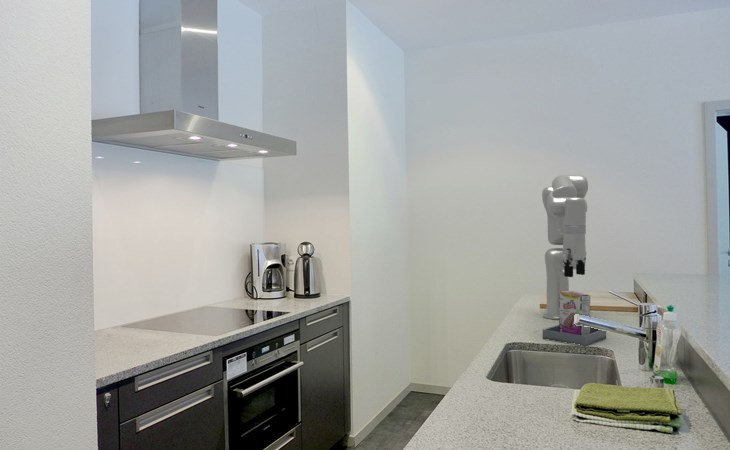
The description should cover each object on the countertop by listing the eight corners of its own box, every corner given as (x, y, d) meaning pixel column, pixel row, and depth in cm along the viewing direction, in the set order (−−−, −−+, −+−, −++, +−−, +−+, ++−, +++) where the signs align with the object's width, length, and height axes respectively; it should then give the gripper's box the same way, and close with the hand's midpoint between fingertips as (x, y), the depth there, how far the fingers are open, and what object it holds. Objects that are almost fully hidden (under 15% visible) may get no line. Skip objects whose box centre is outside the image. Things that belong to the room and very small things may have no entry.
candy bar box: (558, 333, 212) (558, 291, 212) (567, 332, 214) (568, 290, 214) (581, 339, 202) (581, 295, 202) (590, 338, 204) (591, 294, 204)
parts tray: (564, 331, 220) (564, 323, 220) (606, 338, 208) (606, 329, 208) (542, 338, 208) (542, 329, 208) (585, 346, 196) (585, 336, 196)
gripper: (575, 229, 216) (575, 272, 217) (554, 230, 204) (554, 276, 205) (594, 230, 211) (594, 274, 211) (574, 231, 199) (573, 278, 199)
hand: (574, 275), depth 208 cm, fingers open, 9 cm apart
